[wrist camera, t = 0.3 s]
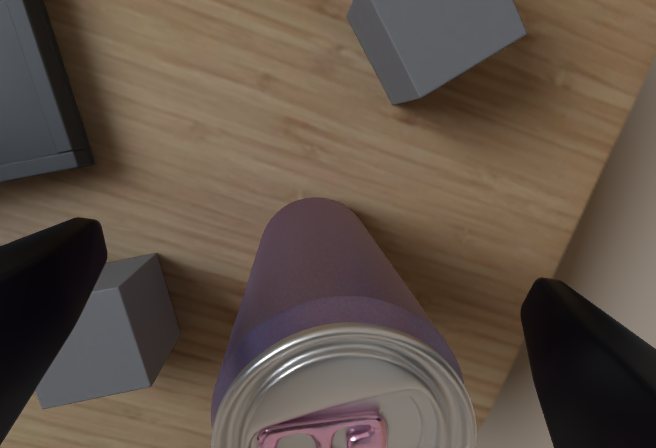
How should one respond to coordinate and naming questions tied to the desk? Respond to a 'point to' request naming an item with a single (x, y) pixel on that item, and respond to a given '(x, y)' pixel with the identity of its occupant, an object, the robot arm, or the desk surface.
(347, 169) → the desk surface
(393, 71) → the grey block
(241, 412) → the beverage can
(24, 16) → the tray
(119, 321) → the grey block
